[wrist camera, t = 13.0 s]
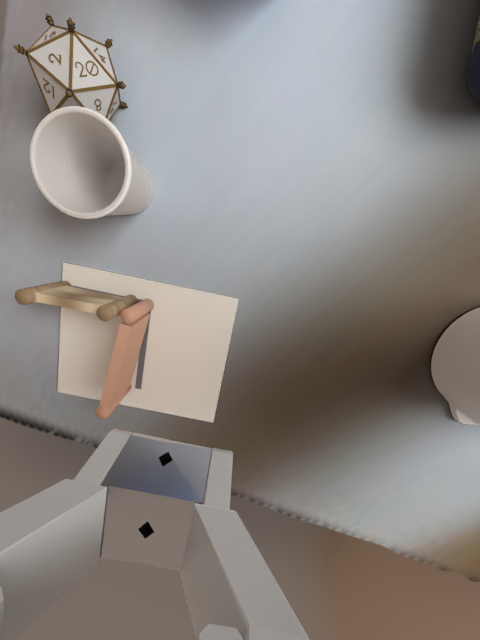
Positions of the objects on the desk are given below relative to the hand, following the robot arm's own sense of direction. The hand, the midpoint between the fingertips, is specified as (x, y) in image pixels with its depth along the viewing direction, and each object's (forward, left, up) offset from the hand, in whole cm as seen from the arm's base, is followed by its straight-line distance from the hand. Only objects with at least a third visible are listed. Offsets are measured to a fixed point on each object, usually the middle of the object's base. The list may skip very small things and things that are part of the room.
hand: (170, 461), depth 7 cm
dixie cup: (+14, -9, -29) cm, 34 cm away
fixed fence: (+16, +4, -29) cm, 33 cm away
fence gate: (+11, +10, -28) cm, 32 cm away
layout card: (+10, +10, -29) cm, 32 cm away
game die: (+18, -17, -29) cm, 38 cm away
